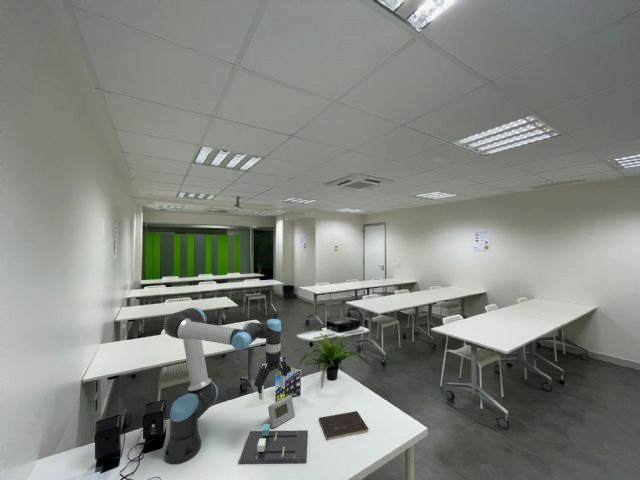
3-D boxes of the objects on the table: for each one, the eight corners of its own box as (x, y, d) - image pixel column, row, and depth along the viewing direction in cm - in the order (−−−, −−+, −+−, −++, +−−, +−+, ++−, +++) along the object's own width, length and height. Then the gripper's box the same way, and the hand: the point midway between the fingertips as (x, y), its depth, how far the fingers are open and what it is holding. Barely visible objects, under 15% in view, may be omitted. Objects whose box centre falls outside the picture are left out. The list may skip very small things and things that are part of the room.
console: (239, 464, 111) (239, 459, 112) (250, 435, 129) (250, 430, 130) (306, 463, 112) (306, 458, 112) (307, 434, 130) (307, 430, 130)
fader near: (257, 455, 114) (257, 445, 114) (259, 447, 118) (259, 438, 118) (263, 455, 114) (264, 445, 114) (265, 447, 118) (265, 438, 118)
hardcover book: (368, 433, 131) (368, 428, 131) (326, 441, 126) (326, 437, 126) (356, 414, 147) (356, 410, 147) (318, 421, 141) (318, 416, 141)
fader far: (262, 438, 123) (262, 430, 124) (263, 432, 128) (263, 424, 128) (268, 438, 124) (268, 430, 124) (269, 432, 128) (269, 423, 128)
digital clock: (271, 430, 133) (271, 410, 133) (265, 421, 140) (265, 401, 141) (298, 419, 142) (298, 400, 142) (290, 411, 149) (291, 392, 150)
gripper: (256, 360, 116) (255, 407, 115) (296, 346, 135) (295, 386, 134) (247, 356, 121) (246, 401, 120) (286, 342, 140) (285, 381, 139)
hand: (272, 393), depth 127 cm, fingers open, 13 cm apart
